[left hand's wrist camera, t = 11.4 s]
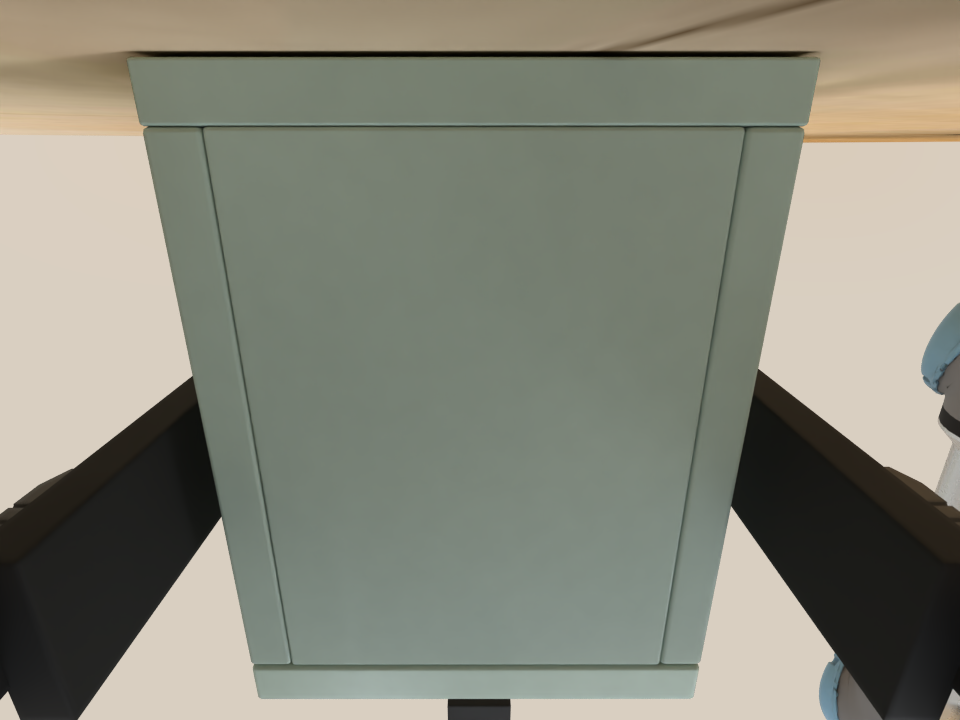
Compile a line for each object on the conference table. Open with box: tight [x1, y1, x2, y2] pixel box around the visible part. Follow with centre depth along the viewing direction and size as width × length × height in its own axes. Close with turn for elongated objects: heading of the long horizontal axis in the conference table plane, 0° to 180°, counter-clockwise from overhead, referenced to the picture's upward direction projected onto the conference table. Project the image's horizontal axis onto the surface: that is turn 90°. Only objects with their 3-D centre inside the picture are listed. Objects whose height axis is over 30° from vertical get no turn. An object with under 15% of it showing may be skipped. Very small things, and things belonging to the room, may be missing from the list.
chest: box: [127, 57, 820, 664], centre depth 17 cm, size 18×9×11 cm, turn 0°
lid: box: [253, 661, 699, 699], centre depth 21 cm, size 18×9×8 cm, turn 0°
